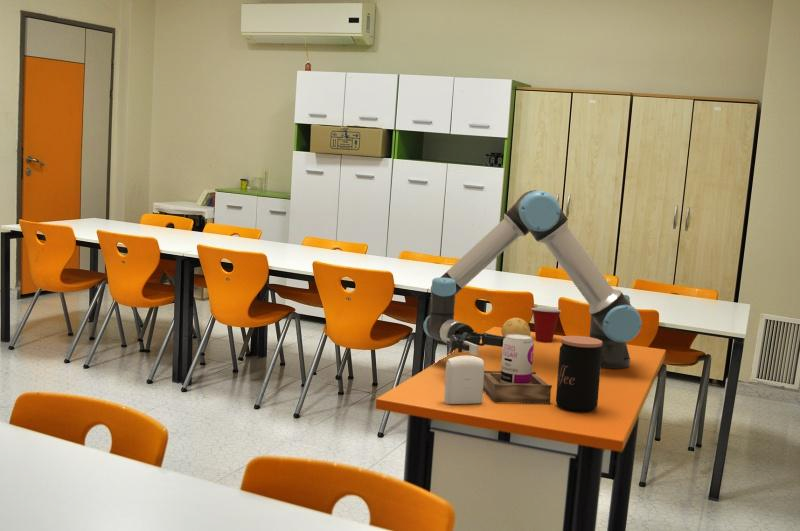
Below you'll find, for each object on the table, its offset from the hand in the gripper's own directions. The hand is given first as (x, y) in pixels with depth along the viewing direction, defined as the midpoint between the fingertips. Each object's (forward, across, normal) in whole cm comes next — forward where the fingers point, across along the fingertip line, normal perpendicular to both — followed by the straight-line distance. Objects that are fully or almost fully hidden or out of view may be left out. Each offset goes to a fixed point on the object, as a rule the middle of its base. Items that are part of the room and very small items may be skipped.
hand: (497, 349), depth 241 cm
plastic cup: (-52, -56, -11) cm, 77 cm away
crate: (+10, 0, -11) cm, 14 cm away
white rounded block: (+12, +18, -11) cm, 24 cm away
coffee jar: (+24, -9, -11) cm, 28 cm away
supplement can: (+10, 0, -10) cm, 14 cm away
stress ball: (-46, -40, -11) cm, 62 cm away
